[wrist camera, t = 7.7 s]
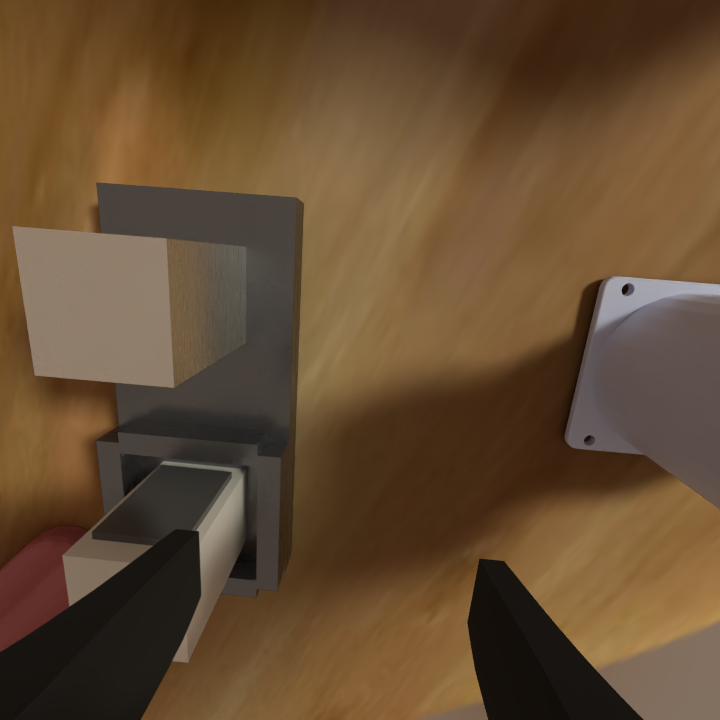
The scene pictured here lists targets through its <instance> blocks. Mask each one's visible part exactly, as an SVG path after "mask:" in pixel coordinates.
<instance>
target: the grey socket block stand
mask: <svg viewBox="0 0 720 720" xmlns="http://www.w3.org/2000/svg"><path fill="white" fill-rule="evenodd" d="M96 185H97V195H98V206H99V217H100V228H101V233H90V232H78V231H65V230H52V229H40V228H27V227H15V226H12V227H13V233H14V240H15V247H16V254H17V260H18V267H19V274H20V280H21V287H22V294H23V300H24V307H25V314H26V320H27V327H28V334H29V340H30V347H31V354H32V360H33V367H34V374H35V376H46V377H57V378H68V379H80V380H91V381H102V382H114V383H115V388H116V399H117V409H118V420H119V426H118V427H117V428H115V429H114V430H112V431H111V432H109V433H107V434H106V435H104V436H103V437H101V438H100V439H98V440H96V445H97V454H98V463H99V472H100V481H101V490H102V499H103V508H104V516H105V515H106V514H107V513H108V512H109V511H111V510H112V509H113V508H114V507H115V506H116V505H117V504H118V503H119V502H120V501H121V500H122V499H123V498H124V497H125V496H127V495H128V494H129V493H130V492H131V491H132V490H133V489H134V488H135V487H136V486H137V485H138V484H139V483H140V482H142V481H143V480H144V479H145V478H146V477H147V476H148V475H149V474H150V473H151V472H152V471H153V470H154V469H155V468H157V467H158V466H159V465H160V464H161V463H162V462H163V461H169V462H179V463H189V464H198V465H208V466H218V467H228V468H238V469H246V541H245V543H244V545H243V547H242V550H241V552H240V554H239V556H238V558H237V560H236V562H235V564H234V566H233V569H232V571H231V573H230V575H229V577H228V579H227V581H226V583H225V586H224V588H223V590H222V592H221V594H224V595H234V596H244V597H254V598H256V597H257V595H258V592H259V590H269V591H278V588H279V584H280V581H281V578H282V575H283V574H284V575H285V572H286V568H287V565H288V562H289V558H290V555H291V543H292V515H293V488H294V460H295V432H296V405H297V377H298V349H299V322H300V294H301V266H302V238H303V211H304V203H303V202H301V201H300V200H299V199H298V198H294V197H280V196H267V195H254V194H241V193H228V192H214V191H201V190H188V189H175V188H162V187H148V186H135V185H122V184H109V183H96Z"/></svg>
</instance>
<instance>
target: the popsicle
mask: <svg viewBox="0 0 720 720" xmlns="http://www.w3.org/2000/svg"><path fill="white" fill-rule="evenodd" d="M87 532H88V530H86V529H84V528H82V527H75V526H66V525H61V526H58V527H55V528H52V529H49V530H46V531H43V532H42V533H41V534H40V535H38V536H37V537H36V538H35V539H33V540H32V541H31V542H30V543H29V544H27V545H26V546H25V547H24V548H23V549H22V550H21V551H20V552H19V553H17V554H16V555H15V556H14V557H13V558H12V559H11V560H10V561H9V562H7V563H6V564H5V565H4V566H3V567H2V568H1V569H0V652H1V651H3V650H4V649H6V648H8V647H9V646H11V645H12V644H14V643H16V642H17V641H19V640H20V639H22V638H23V637H25V636H27V635H28V634H30V633H31V632H33V631H34V630H36V629H37V628H39V627H40V626H42V625H43V624H45V623H46V622H48V621H49V620H51V619H52V618H54V617H55V616H57V615H58V614H59V613H61V612H62V611H64V610H65V609H67V608H68V607H69V600H68V592H67V585H66V578H65V571H64V564H63V557H62V555H63V554H64V553H66V552H67V551H68V550H69V549H70V548H71V547H72V546H73V545H74V544H75V543H76V542H77V541H78V540H79V539H81V538H82V537H83V536H84V535H85V534H86V533H87Z"/></svg>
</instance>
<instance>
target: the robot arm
mask: <svg viewBox="0 0 720 720" xmlns="http://www.w3.org/2000/svg"><path fill="white" fill-rule="evenodd" d="M625 284H627V285H628V291H627V293H626V294H624V295H623V294H622V287H623V286H624V285H625ZM589 435H591V438H590V440H588V441H586V442H584V439H585V437H587V436H589ZM565 441H566V443H567V444H568V445H570V446H571V447H572V448H575V449H585V450H596V451H607V452H618V453H630V454H641V455H646V456H647V457H648V458H650V459H651V460H652V461H654V462H655V463H657V464H658V465H659V466H661V467H662V468H663V469H665V470H666V471H668V472H669V473H670V474H672V475H673V476H674V477H676V478H677V479H679V480H680V481H681V482H683V483H684V484H685V485H687V486H688V487H690V488H691V489H692V490H694V491H695V492H696V493H698V494H699V495H701V496H702V497H703V498H705V499H706V500H707V501H709V502H710V503H712V504H713V505H714V506H716V507H717V508H719V509H720V285H718V284H706V283H693V282H681V281H668V280H655V279H643V278H630V277H617V276H612V277H608V278H606V279H604V280H603V282H602V283H601V285H600V287H599V291H598V295H597V300H596V304H595V308H594V312H593V317H592V321H591V325H590V329H589V334H588V338H587V342H586V346H585V351H584V355H583V359H582V363H581V368H580V372H579V376H578V380H577V385H576V389H575V393H574V397H573V402H572V406H571V410H570V414H569V419H568V423H567V427H566V431H565ZM200 598H201V571H200V544H199V531H191V530H181V529H175V530H174V531H172V532H171V533H170V534H168V535H167V536H166V537H164V538H163V539H161V540H160V541H159V542H157V543H156V544H155V545H154V546H152V547H151V548H150V549H148V550H147V551H146V552H144V553H143V554H142V555H140V556H139V557H138V558H136V559H135V560H134V561H132V562H131V563H130V564H128V565H127V566H126V567H124V568H123V569H122V570H120V571H119V572H118V573H116V574H115V575H113V576H112V577H111V578H109V579H108V580H107V581H105V582H104V583H103V584H101V585H100V586H98V587H97V588H96V589H94V590H93V591H92V592H90V593H89V594H87V595H86V596H84V597H83V598H81V599H80V600H78V601H77V602H76V603H74V604H73V605H71V606H70V607H68V608H67V609H65V610H64V611H62V612H61V613H59V614H58V615H57V616H55V617H54V618H52V619H51V620H49V621H48V622H46V623H45V624H43V625H42V626H40V627H39V628H37V629H36V630H34V631H33V632H31V633H30V634H28V635H27V636H25V637H23V638H22V639H20V640H19V641H17V642H16V643H14V644H12V645H11V646H9V647H8V648H6V649H4V650H3V651H1V652H0V720H141V718H142V716H143V714H144V712H145V711H146V709H147V707H148V705H149V703H150V701H151V699H152V698H153V696H154V694H155V692H156V690H157V688H158V686H159V685H160V683H161V681H162V679H163V677H164V675H165V673H166V672H167V670H168V668H169V666H170V664H171V662H172V660H173V658H174V657H175V655H176V653H177V651H178V649H179V647H180V645H181V643H182V641H183V639H184V637H185V634H186V632H187V630H188V627H189V625H190V623H191V620H192V618H193V615H194V613H195V610H196V608H197V605H198V603H199V600H200ZM468 629H469V636H470V642H471V648H472V654H473V660H474V665H475V671H476V675H477V679H478V683H479V687H480V690H481V694H482V698H483V702H484V705H485V709H486V713H487V716H488V720H643V719H642V718H641V717H640V716H639V715H638V714H637V713H636V712H635V711H634V710H633V709H632V708H631V707H630V706H629V705H628V704H627V702H625V700H624V699H623V698H622V697H620V695H619V694H618V693H617V692H616V691H615V690H614V689H613V688H612V687H611V686H610V685H609V684H608V683H607V681H606V680H605V679H604V678H603V677H602V676H601V675H600V674H599V673H598V672H597V671H596V670H595V669H594V667H593V666H592V665H591V664H590V663H589V662H588V661H587V660H586V659H585V658H584V656H583V655H582V654H581V653H580V652H579V651H578V650H577V649H576V647H575V646H574V645H573V644H572V643H571V642H570V640H569V639H568V638H567V637H566V636H565V635H564V633H563V632H562V631H561V630H560V629H559V628H558V627H557V625H556V624H555V623H554V622H553V621H552V619H551V618H550V617H549V616H548V615H547V613H546V612H545V611H544V610H543V609H542V607H541V606H540V605H539V604H538V602H537V601H536V600H535V599H534V598H533V596H532V595H531V594H530V593H529V591H528V590H527V589H526V588H525V586H524V585H523V584H522V583H521V582H520V580H519V579H518V578H517V577H516V575H515V574H514V573H513V572H512V570H511V569H510V568H509V567H508V566H507V564H506V563H505V562H504V561H497V560H487V559H479V565H478V570H477V575H476V580H475V586H474V591H473V596H472V601H471V607H470V612H469V617H468Z"/></svg>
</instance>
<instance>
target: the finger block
mask: <svg viewBox="0 0 720 720" xmlns="http://www.w3.org/2000/svg"><path fill="white" fill-rule="evenodd" d="M175 529H181V530H191V531H199V544H200V571H201V598H200V600H199V603H198V605H197V608H196V610H195V613H194V615H193V618H192V620H191V623H190V625H189V627H188V630H187V632H186V634H185V637H184V639H183V641H182V643H181V645H180V647H179V649H178V651H177V653H176V655H175V657H174V658H173V660H172V661H175V662H184V663H188V662H189V660H190V658H191V655H192V653H193V651H194V649H195V647H196V645H197V643H198V641H199V638H200V636H201V634H202V632H203V630H204V628H205V626H206V624H207V622H208V619H209V617H210V615H211V613H212V611H213V609H214V607H215V605H216V602H217V600H218V598H219V596H220V594H221V592H222V590H223V588H224V586H225V583H226V581H227V579H228V577H229V575H230V573H231V571H232V569H233V566H234V564H235V562H236V560H237V558H238V556H239V554H240V552H241V550H242V547H243V545H244V543H245V541H246V469H238V468H228V467H218V466H208V465H198V464H189V463H179V462H169V461H163V462H162V463H161V464H160V465H159V466H158V467H157V468H155V469H154V470H153V471H152V472H151V473H150V474H149V475H148V476H147V477H146V478H145V479H144V480H143V481H142V482H140V483H139V484H138V485H137V486H136V487H135V488H134V489H133V490H132V491H131V492H130V493H129V494H128V495H127V496H125V497H124V498H123V499H122V500H121V501H120V502H119V503H118V504H117V505H116V506H115V507H114V508H113V509H112V510H111V511H109V512H108V513H107V514H106V515H105V516H104V517H103V518H102V519H101V520H100V521H99V522H98V523H97V524H96V525H94V526H93V527H92V528H91V529H90V530H89V531H88V532H87V533H86V534H85V535H84V536H83V537H82V538H81V539H79V540H78V541H77V542H76V543H75V544H74V545H73V546H72V547H71V548H70V549H69V550H68V551H67V552H66V553H64V554H63V555H62V557H63V564H64V571H65V578H66V585H67V592H68V600H69V607H70V606H71V605H73V604H74V603H76V602H77V601H78V600H80V599H81V598H83V597H84V596H86V595H87V594H89V593H90V592H92V591H93V590H94V589H96V588H97V587H98V586H100V585H101V584H103V583H104V582H105V581H107V580H108V579H109V578H111V577H112V576H113V575H115V574H116V573H118V572H119V571H120V570H122V569H123V568H124V567H126V566H127V565H128V564H130V563H131V562H132V561H134V560H135V559H136V558H138V557H139V556H140V555H142V554H143V553H144V552H146V551H147V550H148V549H150V548H151V547H152V546H154V545H155V544H156V543H157V542H159V541H160V540H161V539H163V538H164V537H166V536H167V535H168V534H170V533H171V532H172V531H174V530H175Z"/></svg>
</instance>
